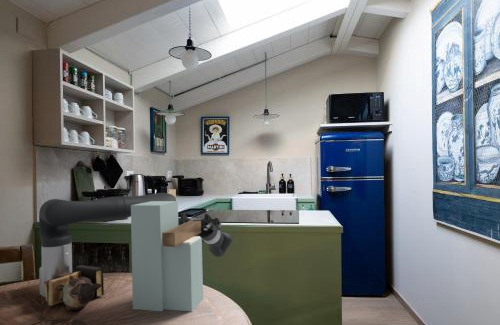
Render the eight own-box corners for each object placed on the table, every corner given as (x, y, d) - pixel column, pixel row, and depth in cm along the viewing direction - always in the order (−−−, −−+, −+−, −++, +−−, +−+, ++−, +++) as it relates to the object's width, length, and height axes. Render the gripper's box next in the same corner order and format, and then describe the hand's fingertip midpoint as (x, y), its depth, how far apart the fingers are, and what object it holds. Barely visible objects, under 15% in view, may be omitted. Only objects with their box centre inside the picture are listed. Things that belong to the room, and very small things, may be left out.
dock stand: (132, 308, 96) (130, 205, 97) (153, 293, 108) (151, 201, 109) (189, 313, 92) (187, 205, 93) (204, 297, 104) (202, 201, 104)
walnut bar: (162, 246, 90) (162, 232, 90) (190, 232, 110) (190, 220, 110) (175, 246, 89) (174, 232, 89) (201, 232, 109) (200, 221, 109)
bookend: (81, 264, 115) (122, 267, 101) (82, 294, 114) (124, 301, 100) (36, 275, 103) (77, 280, 89) (37, 309, 101) (78, 319, 88)
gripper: (224, 241, 117) (211, 227, 103) (189, 240, 120) (172, 226, 106) (227, 222, 121) (214, 206, 107) (193, 222, 124) (176, 205, 110)
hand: (193, 216), depth 107 cm, fingers open, 8 cm apart
